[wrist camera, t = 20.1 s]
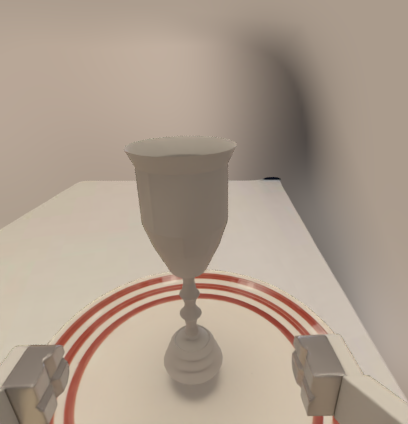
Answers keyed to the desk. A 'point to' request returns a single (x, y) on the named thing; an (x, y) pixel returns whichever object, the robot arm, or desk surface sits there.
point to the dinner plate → (159, 341)
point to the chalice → (185, 232)
